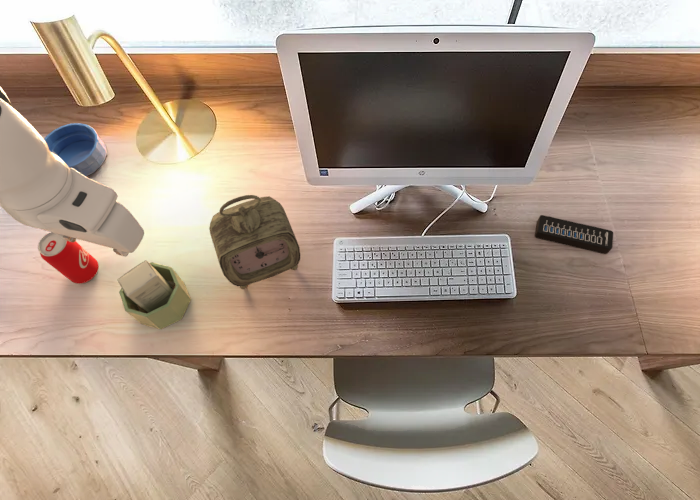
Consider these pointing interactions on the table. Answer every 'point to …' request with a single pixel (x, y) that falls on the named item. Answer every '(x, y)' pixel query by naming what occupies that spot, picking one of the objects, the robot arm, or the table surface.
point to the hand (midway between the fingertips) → (98, 244)
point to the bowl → (78, 147)
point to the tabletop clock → (253, 240)
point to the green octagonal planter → (167, 312)
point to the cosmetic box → (146, 287)
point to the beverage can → (68, 258)
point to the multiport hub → (574, 234)
